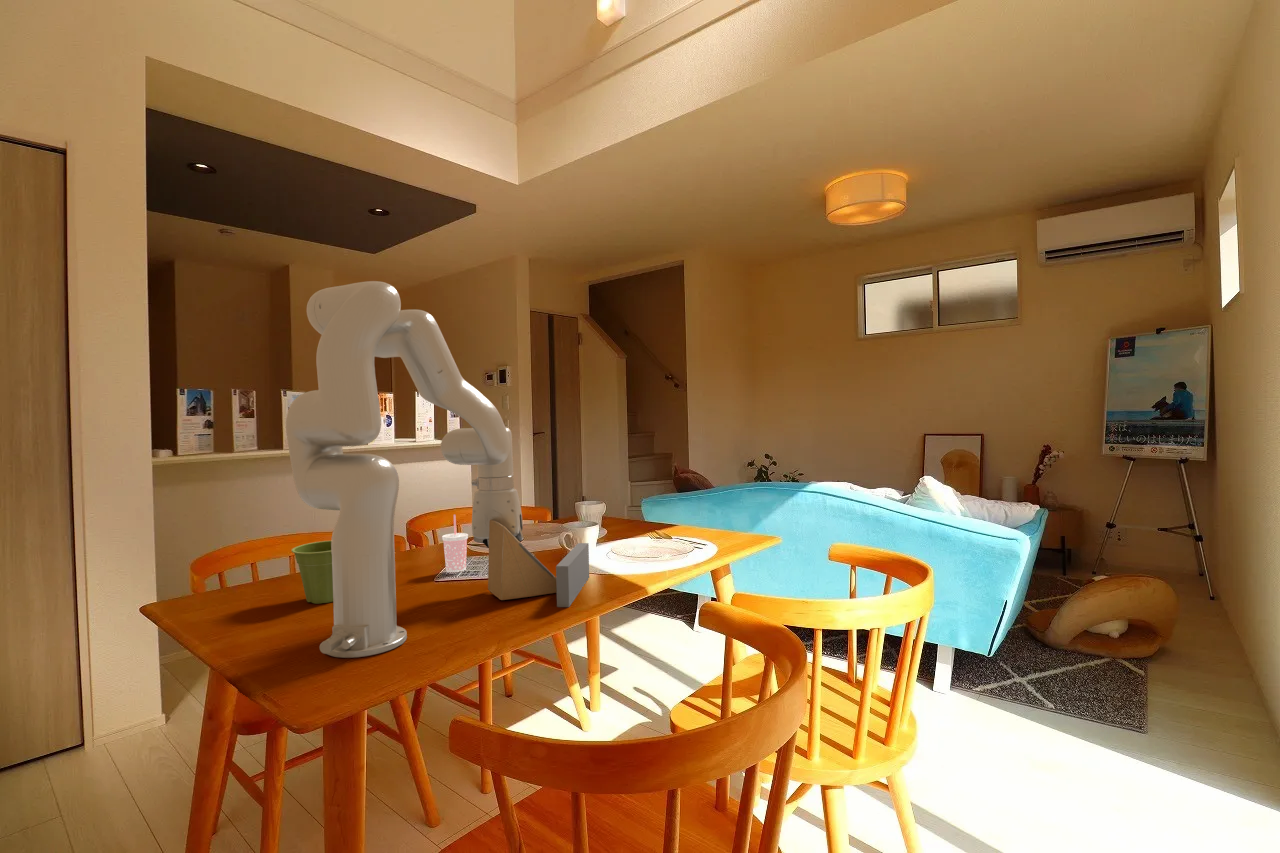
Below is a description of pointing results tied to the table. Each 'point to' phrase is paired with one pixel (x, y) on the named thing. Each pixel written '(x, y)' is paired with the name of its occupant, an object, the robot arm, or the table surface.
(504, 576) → the beige triangular wedge
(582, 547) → the board
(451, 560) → the beverage cup
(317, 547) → the plant pot
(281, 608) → the table surface
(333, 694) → the table surface
